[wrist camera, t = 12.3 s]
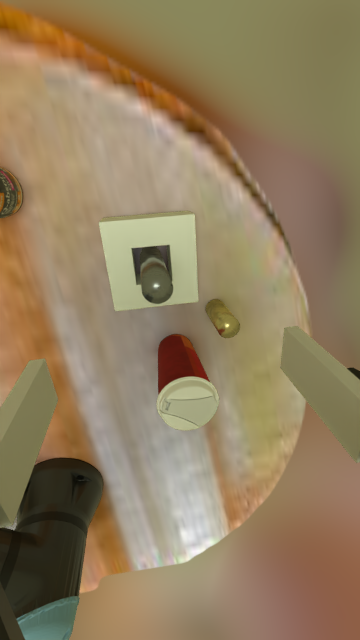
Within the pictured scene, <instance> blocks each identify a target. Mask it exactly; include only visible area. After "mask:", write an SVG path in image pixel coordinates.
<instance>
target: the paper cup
mask: <svg viewBox="0 0 360 640" xmlns="http://www.w3.org/2000/svg"><path fill="white" fill-rule="evenodd" d="M158 393H159V396H158V398H157V410H158V413H159V415H160V416H161V417H162V418H163V420H164V421H165V423H166V424H168V425H169V426H170V427H172V428H174V429H177V430H185V431H186V430H194V429H197V428H200V427H201V426H203V425H204V424H206V423H207V422H209V421H210V420H211V418H212V417H213V416H214V414H215V413H216V411H217V408H218V404H219V397H218V393H217V390H216V388H215V387H214V386H213V384H211V383H210V381H209V379H208V377H207V375H206V373H205V371H204V368H203V366H202V364H201V362H200V360H199V358H198V356H197V354H196V352H195V350H194V348H193V346H192V344H191V342H190V341H189V340H188V339H187V338H186V337H185V336H182V335H178V334H175V335H170V336H168V337H166V338H164V339H163V340H162V341H161V343H160V345H159V348H158Z"/></svg>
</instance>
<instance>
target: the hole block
mask: <svg viewBox="0 0 360 640" xmlns="http://www.w3.org/2000/svg"><path fill="white" fill-rule="evenodd" d="M99 227H100V232H101V238H102V243H103V249H104V254H105V259H106V265H107V270H108V276H109V281H110V287H111V292H112V298H113V303H114V309H115V311H122V310H131V309H140V308H148V307H157V306H166V305H174V304H183V303H192V302H198V280H197V256H196V232H195V214H193V213H191V212H189V211H179V212H167V213H155V214H143V215H132V216H120V217H108V218H103V219H102V220H101V221H100V222H99ZM160 245H167V257H168V268H169V271H168V273H169V276H170V279H171V281H172V284H173V293H172V295H171V297H170V298H169V299H168V300H167V301H166V302H164V303H161V304H154V303H151V302H149V301H147V300H146V299H145V298H144V296H143V294H142V289H141V274H136V267H135V260H134V253H133V248H139V247H150V246H160Z"/></svg>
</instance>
